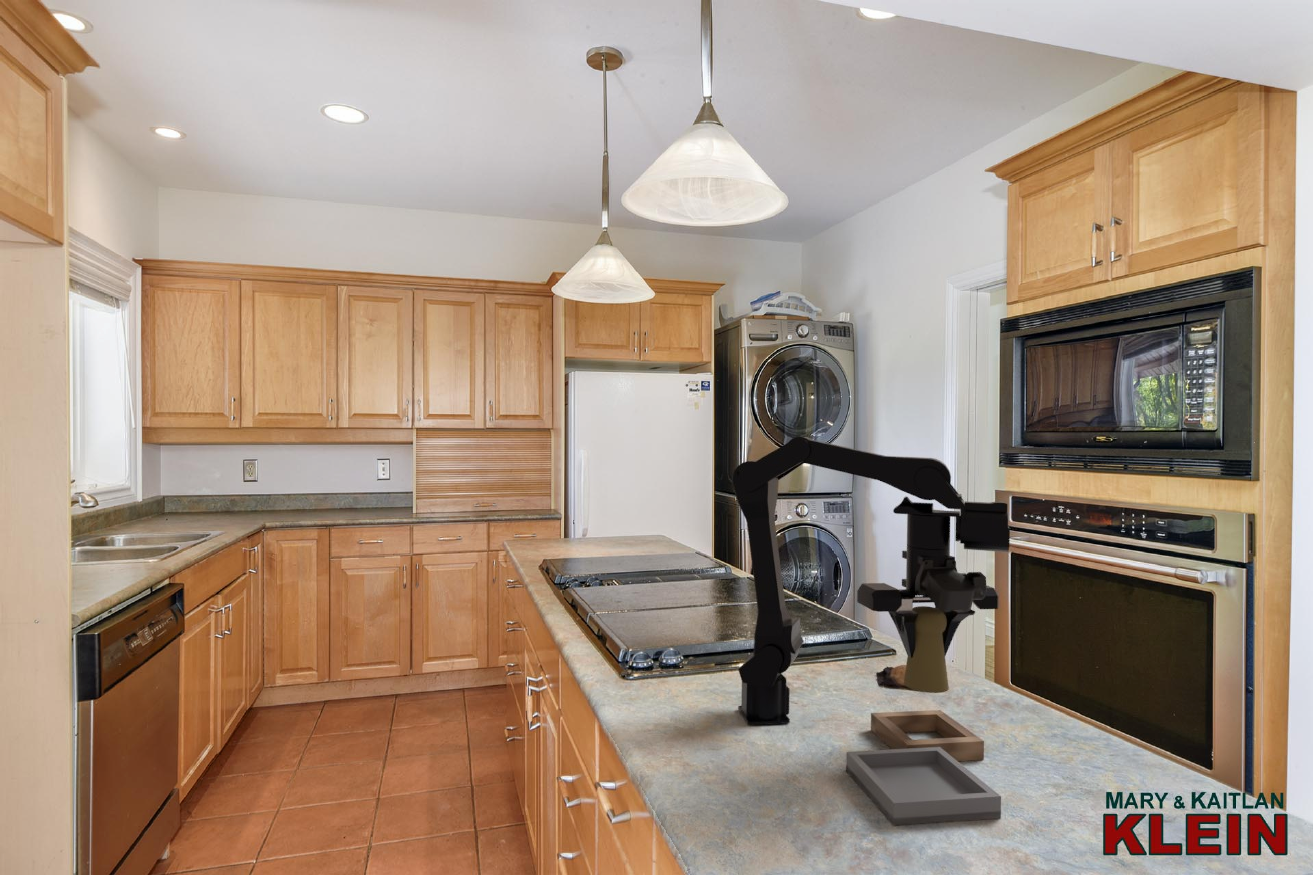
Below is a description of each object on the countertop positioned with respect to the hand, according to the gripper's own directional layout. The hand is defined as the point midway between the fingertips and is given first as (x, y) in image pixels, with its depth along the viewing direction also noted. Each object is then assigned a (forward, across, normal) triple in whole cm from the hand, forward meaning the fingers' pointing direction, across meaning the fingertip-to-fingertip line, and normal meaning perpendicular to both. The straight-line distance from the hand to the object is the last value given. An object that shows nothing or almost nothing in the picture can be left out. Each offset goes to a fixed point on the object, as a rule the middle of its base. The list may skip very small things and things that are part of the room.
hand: (926, 656), depth 101 cm
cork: (+4, 0, 0) cm, 4 cm away
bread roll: (+13, +10, +24) cm, 30 cm away
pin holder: (+12, 0, 0) cm, 12 cm away
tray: (+12, -8, -13) cm, 20 cm away
